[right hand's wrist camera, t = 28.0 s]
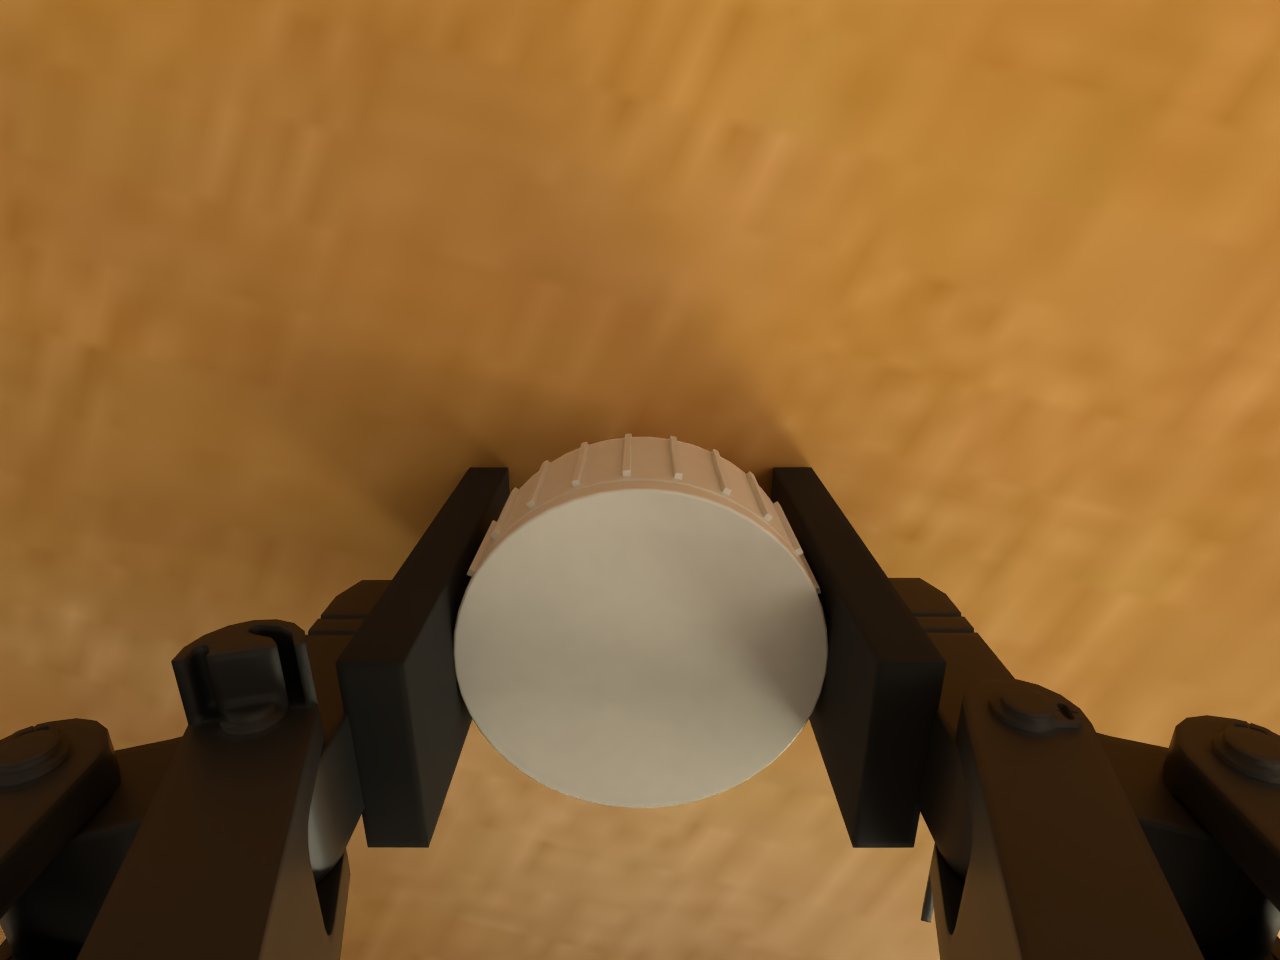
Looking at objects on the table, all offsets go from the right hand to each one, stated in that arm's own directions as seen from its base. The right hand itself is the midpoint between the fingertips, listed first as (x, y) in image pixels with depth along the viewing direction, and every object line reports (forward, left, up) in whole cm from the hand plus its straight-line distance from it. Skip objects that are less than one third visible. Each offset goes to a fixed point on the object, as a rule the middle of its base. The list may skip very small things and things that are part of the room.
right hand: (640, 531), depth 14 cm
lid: (0, 0, +4) cm, 4 cm away
